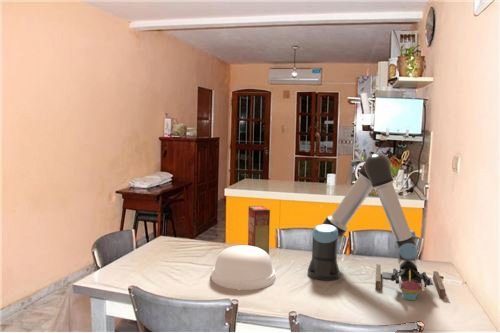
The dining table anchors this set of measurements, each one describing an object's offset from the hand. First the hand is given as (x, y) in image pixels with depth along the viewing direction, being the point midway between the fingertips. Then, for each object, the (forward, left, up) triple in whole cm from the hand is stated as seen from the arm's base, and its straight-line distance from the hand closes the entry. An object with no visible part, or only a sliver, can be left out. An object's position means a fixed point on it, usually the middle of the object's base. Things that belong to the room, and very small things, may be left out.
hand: (411, 286), depth 171 cm
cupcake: (0, +5, -7) cm, 9 cm away
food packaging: (-78, +45, -7) cm, 90 cm away
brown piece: (0, +22, -7) cm, 23 cm away
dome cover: (-73, +3, -8) cm, 73 cm away
